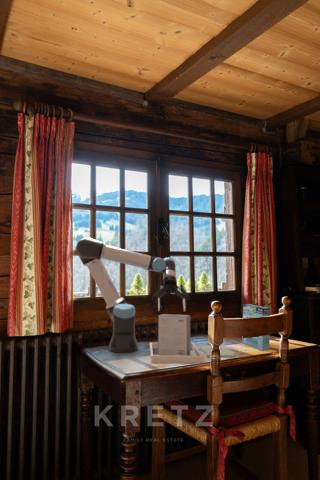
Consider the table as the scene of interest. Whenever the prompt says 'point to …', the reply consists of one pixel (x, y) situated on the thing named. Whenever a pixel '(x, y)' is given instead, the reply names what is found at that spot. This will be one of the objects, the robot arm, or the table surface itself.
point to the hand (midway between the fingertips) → (171, 309)
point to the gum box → (256, 311)
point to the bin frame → (176, 358)
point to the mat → (224, 350)
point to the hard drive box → (173, 335)
